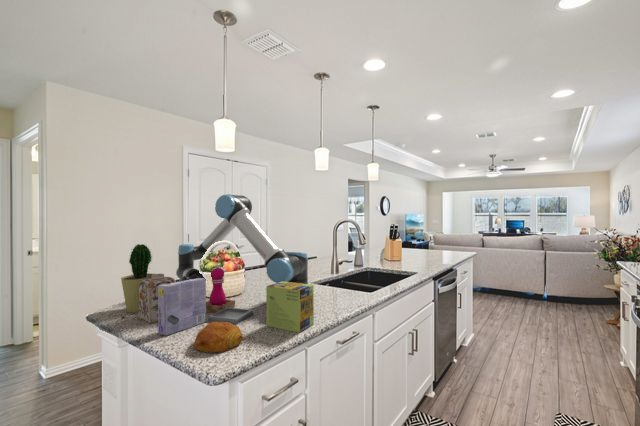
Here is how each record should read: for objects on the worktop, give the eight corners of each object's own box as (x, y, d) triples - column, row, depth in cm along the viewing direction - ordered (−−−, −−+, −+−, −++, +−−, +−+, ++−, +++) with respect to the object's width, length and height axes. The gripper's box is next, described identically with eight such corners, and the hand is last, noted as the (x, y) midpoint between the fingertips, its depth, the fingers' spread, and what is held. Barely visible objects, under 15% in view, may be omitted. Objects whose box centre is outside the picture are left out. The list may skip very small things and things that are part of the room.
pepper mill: (206, 309, 149) (205, 264, 149) (220, 305, 154) (220, 263, 154) (214, 312, 144) (214, 266, 144) (229, 308, 149) (228, 264, 149)
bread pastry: (214, 340, 118) (212, 317, 119) (250, 340, 112) (247, 316, 113) (183, 355, 105) (180, 330, 106) (222, 356, 99) (219, 329, 100)
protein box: (300, 333, 119) (300, 290, 119) (265, 326, 126) (265, 285, 126) (314, 324, 128) (314, 284, 128) (281, 318, 135) (281, 280, 135)
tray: (253, 314, 140) (253, 309, 140) (236, 324, 128) (236, 319, 128) (226, 311, 144) (226, 307, 144) (208, 321, 132) (208, 316, 132)
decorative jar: (148, 323, 130) (148, 278, 130) (138, 317, 138) (137, 274, 138) (178, 316, 139) (178, 273, 139) (167, 311, 146) (166, 270, 146)
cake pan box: (200, 319, 135) (200, 276, 135) (209, 321, 132) (208, 277, 132) (156, 334, 118) (156, 285, 118) (165, 337, 116) (165, 286, 116)
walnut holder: (235, 306, 152) (235, 300, 152) (220, 313, 142) (220, 306, 142) (214, 304, 156) (214, 298, 156) (199, 311, 145) (199, 304, 145)
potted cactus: (114, 314, 142) (113, 244, 142) (131, 304, 157) (130, 241, 157) (151, 313, 143) (150, 244, 143) (164, 303, 158) (164, 241, 158)
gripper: (216, 279, 179) (234, 286, 163) (167, 286, 162) (182, 294, 147) (215, 265, 179) (234, 270, 163) (167, 271, 162) (182, 277, 146)
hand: (209, 282), depth 155 cm, fingers open, 13 cm apart
